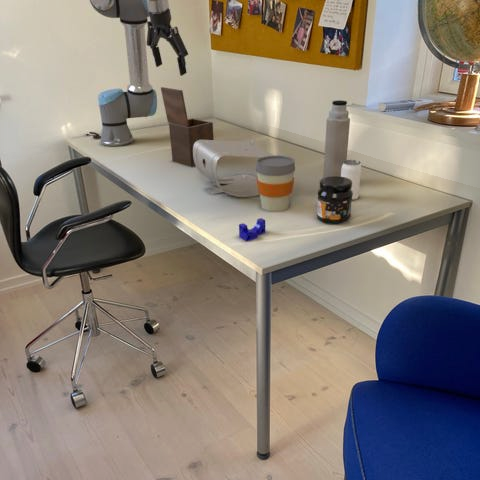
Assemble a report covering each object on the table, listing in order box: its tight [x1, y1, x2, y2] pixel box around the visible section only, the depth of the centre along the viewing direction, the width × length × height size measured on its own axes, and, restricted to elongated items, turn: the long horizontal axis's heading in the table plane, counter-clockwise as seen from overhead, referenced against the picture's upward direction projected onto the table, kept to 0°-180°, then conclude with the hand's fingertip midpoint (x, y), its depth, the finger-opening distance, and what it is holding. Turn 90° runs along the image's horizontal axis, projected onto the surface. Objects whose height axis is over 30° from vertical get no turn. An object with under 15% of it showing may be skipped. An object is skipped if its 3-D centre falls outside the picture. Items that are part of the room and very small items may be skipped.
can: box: [341, 159, 362, 201], centre depth 174 cm, size 6×6×12 cm
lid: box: [160, 86, 189, 127], centre depth 204 cm, size 14×13×1 cm
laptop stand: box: [193, 139, 280, 198], centre depth 185 cm, size 26×24×16 cm
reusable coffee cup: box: [255, 155, 296, 212], centre depth 168 cm, size 12×13×15 cm
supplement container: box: [316, 176, 353, 225], centre depth 158 cm, size 10×10×12 cm
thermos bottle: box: [322, 99, 351, 179], centre depth 184 cm, size 8×8×28 cm
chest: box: [168, 117, 215, 168], centre depth 216 cm, size 13×13×15 cm
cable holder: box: [238, 217, 266, 242], centre depth 151 cm, size 8×4×4 cm, turn 124°
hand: (171, 69), depth 199 cm, fingers open, 13 cm apart
